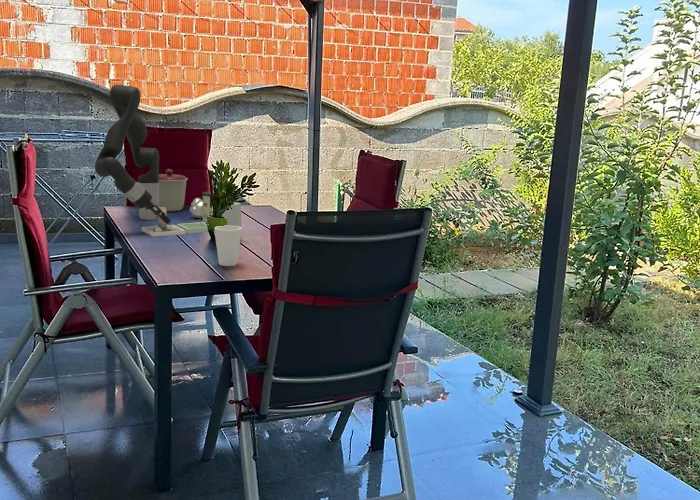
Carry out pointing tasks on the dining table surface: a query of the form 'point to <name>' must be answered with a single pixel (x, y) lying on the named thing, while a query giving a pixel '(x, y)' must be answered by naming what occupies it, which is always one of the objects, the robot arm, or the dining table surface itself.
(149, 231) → the cream square tray
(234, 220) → the skincare box
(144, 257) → the dining table surface
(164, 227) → the ball
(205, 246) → the dining table surface
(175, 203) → the canister
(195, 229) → the tray
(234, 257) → the foam cup
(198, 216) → the silver lobed ball
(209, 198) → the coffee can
